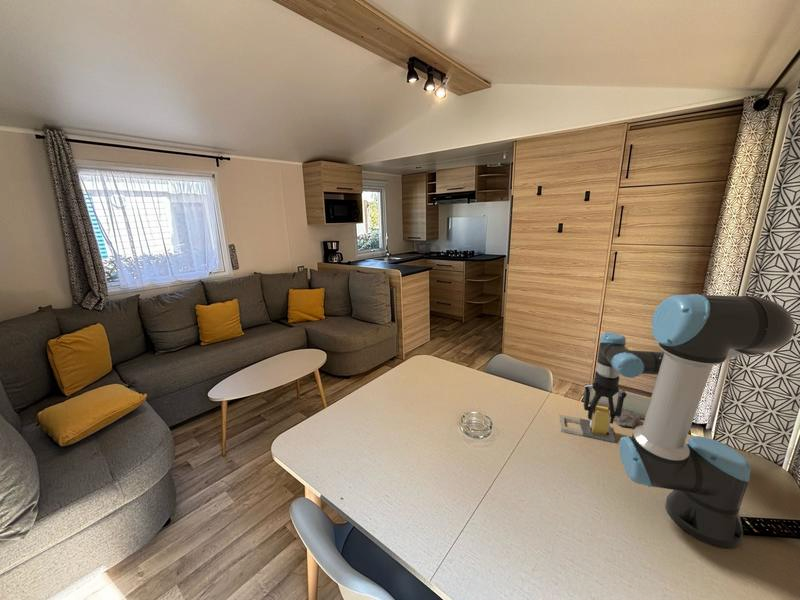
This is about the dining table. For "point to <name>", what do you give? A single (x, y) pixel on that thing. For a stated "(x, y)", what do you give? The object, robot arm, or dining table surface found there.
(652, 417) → the robot arm
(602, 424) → the block
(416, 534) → the dining table surface
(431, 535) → the dining table surface
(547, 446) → the dining table surface
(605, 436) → the grey flat frame
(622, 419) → the rock
